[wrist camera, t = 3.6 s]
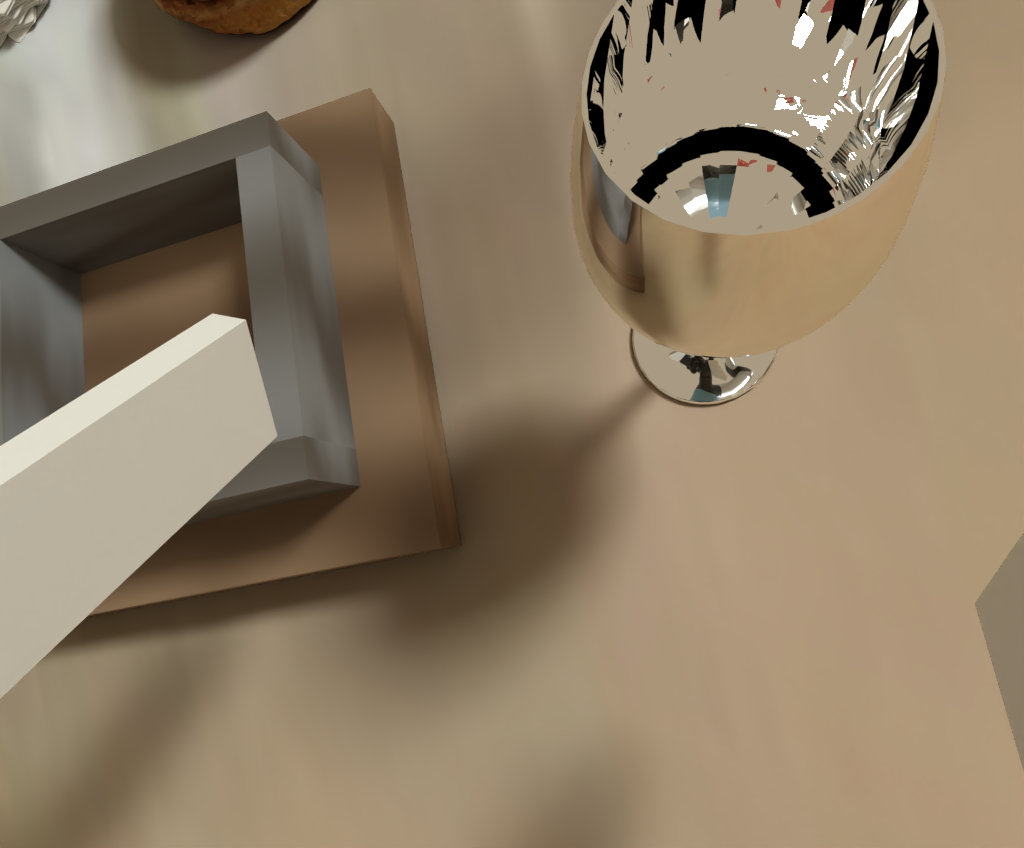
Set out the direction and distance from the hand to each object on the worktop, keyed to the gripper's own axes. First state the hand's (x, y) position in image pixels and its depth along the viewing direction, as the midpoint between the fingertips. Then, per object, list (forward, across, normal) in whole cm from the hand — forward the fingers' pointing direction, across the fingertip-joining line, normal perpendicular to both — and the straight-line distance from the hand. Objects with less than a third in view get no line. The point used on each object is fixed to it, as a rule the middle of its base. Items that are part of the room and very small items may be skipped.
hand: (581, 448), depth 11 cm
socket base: (+8, -15, -6) cm, 18 cm away
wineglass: (+10, +2, -3) cm, 11 cm away
